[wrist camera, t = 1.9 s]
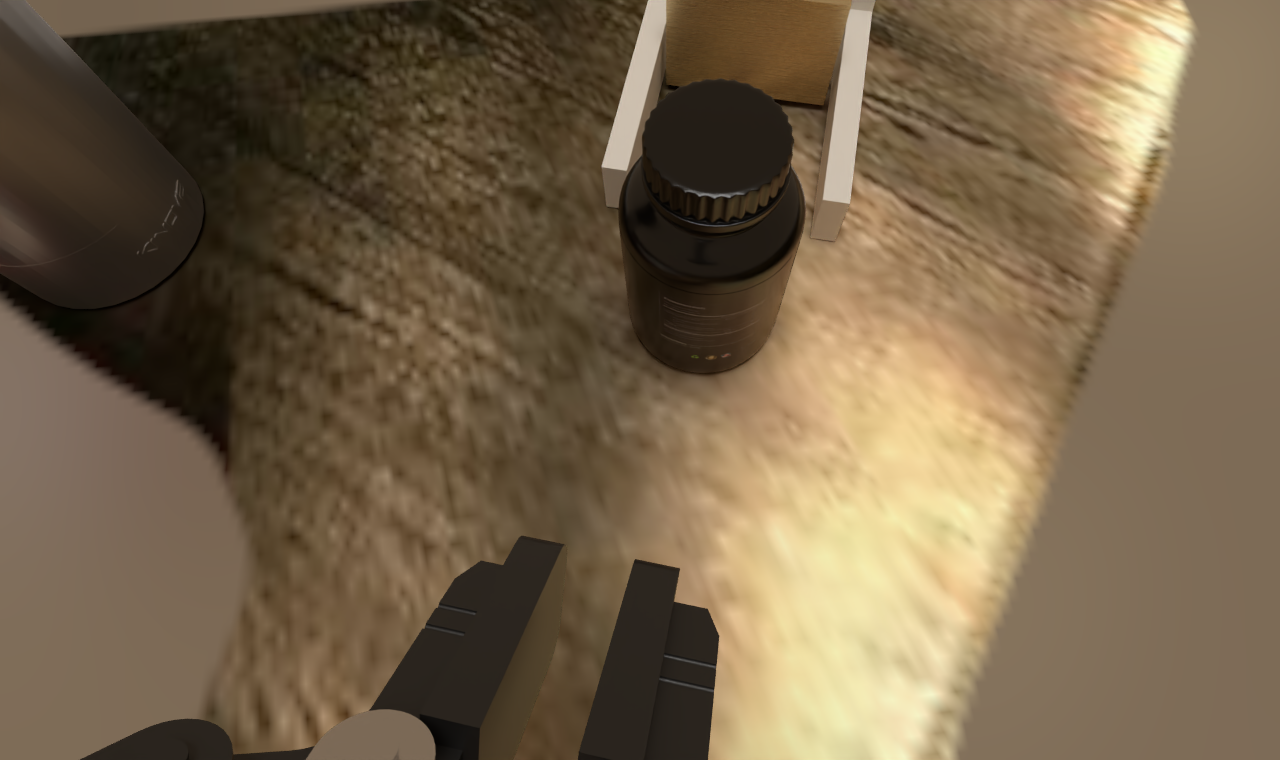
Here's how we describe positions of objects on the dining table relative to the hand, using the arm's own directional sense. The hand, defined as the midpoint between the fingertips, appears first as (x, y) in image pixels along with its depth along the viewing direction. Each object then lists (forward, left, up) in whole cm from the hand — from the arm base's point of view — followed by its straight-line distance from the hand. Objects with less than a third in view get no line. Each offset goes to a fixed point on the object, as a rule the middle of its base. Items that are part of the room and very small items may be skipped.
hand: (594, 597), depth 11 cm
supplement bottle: (0, +15, -18) cm, 23 cm away
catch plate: (0, +28, -18) cm, 33 cm away
